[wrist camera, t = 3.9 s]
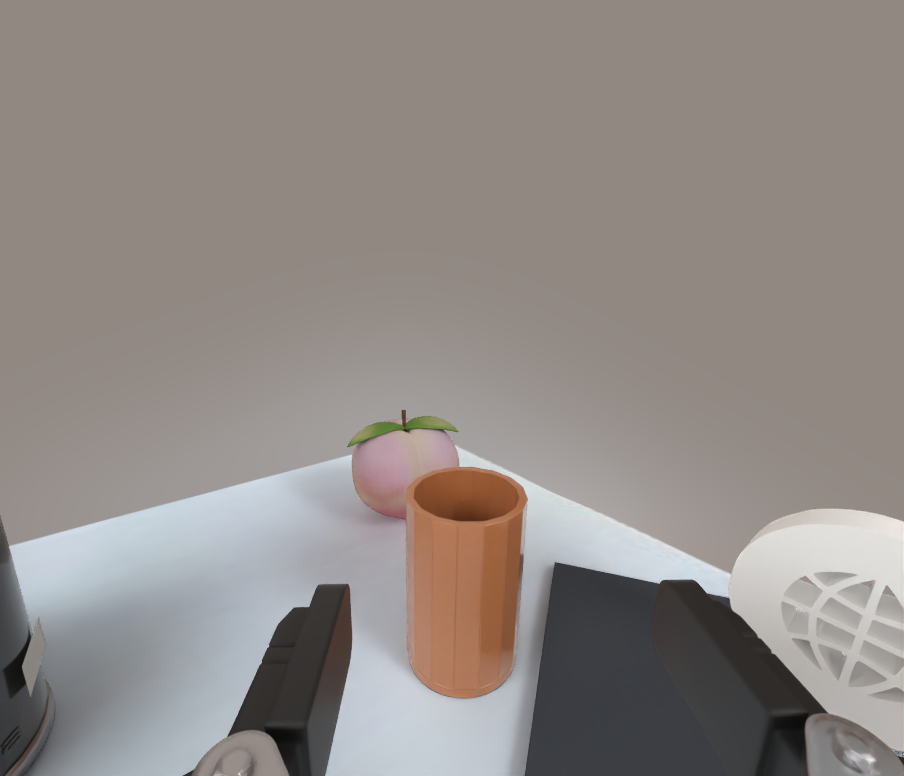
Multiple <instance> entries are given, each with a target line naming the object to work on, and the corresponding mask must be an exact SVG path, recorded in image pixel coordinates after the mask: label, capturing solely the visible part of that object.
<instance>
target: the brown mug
mask: <svg viewBox="0 0 904 776" xmlns="http://www.w3.org/2000/svg"><path fill="white" fill-rule="evenodd" d="M527 501H528V498H527V496H526V494H525V491H524V489H523V487H522V486H521V485H520V484H518V483H517V482H516V481H514V480H513V479H512V478H510V477H508V476H506V475H503V474H500V473H498V472H495V471H492V470H486V469H481V468H475V467H451V468H445V469H439V470H434V471H431V472H429V473H427V474H424V475H422V476H420V477H418V478H416V479H415V480H414V481H413V482H412V483H411V484H410V485H409V486H408V488H407V496H406V542H407V649H408V657H409V662H410V665H411V667H412V669H413V671H414V673H415V674H416V676H417V677H418V678H419V679H420V680H421V681H422V683H423V684H425V685H426V686H427V687H429V688H430V689H432V690H433V691H435V692H437V693H440V694H442V695H445V696H449V697H454V698H474V697H479V696H482V695H485V694H488V693H490V692H492V691H494V690H495V689H497V688H498V687H500V686H501V685H502V684H503V683H504V682H505V681H506V679H507V678H508V677H509V675H510V674H511V672H512V670H513V667H514V664H515V658H516V650H517V643H518V628H519V614H520V600H521V586H522V572H523V558H524V543H525V529H526V515H527Z"/></svg>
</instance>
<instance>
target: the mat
mask: <svg viewBox="0 0 904 776" xmlns="http://www.w3.org/2000/svg"><path fill="white" fill-rule="evenodd" d="M659 585H660V584H658V583H653V582H648V581H643V580H639V579H634V578H629V577H624V576H619V575H614V574H610V573H605V572H600V571H595V570H590V569H585V568H581V567H576V566H571V565H566V564H561V563H556V562H555V565H554V572H553V579H552V586H551V593H550V600H549V608H548V615H547V622H546V629H545V636H544V643H543V650H542V658H541V665H540V672H539V679H538V686H537V693H536V700H535V707H534V715H533V722H532V729H531V736H530V743H529V750H528V757H527V765H526V772H525V776H729V775H728V774H727V772H726V770H725V769H724V767H723V765H722V763H721V762H720V760H719V758H718V757H717V755H716V753H715V752H714V750H713V748H712V747H711V745H710V743H709V741H708V740H707V738H706V736H705V735H704V733H703V731H702V730H701V728H700V726H699V725H698V723H697V721H696V719H695V718H694V716H693V714H692V713H691V711H690V709H689V708H688V706H687V704H686V703H685V701H684V699H683V697H682V696H681V694H680V692H679V691H678V689H677V687H676V686H675V684H674V682H673V681H672V679H671V677H670V675H669V674H668V672H667V670H666V669H665V667H664V665H663V664H662V662H661V660H660V659H659V657H658V655H657V652H656V650H655V646H654V642H653V636H652V628H653V621H654V615H655V608H656V602H657V595H658V589H659ZM708 595H709V597H710V598H711V599H712V600H713V601H720V602H721V603H722V604H724V605H725V606H727V607H728V608H730V609H731V610H732V608H731V604H730V598H726V597H721V596H716V595H711V594H708Z"/></svg>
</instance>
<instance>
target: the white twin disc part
mask: <svg viewBox="0 0 904 776" xmlns="http://www.w3.org/2000/svg"><path fill="white" fill-rule="evenodd" d="M803 576H807V577H808V578H809V579H810V580H811V581H812V582H813V583H814V584H815V585H817V586H818V587H819V588H818V587H816V586H813V585H811V584H809V583H807V582H804V581H802V580H800V579H799V578H801V577H803ZM872 580H873V582H872V584H871V587H870V588H869V587H867V586H865V585H863V584H860V583H861V582H866V581H872ZM886 585H888V587H889V588H890V589H891V590H892V592H893V593H894V594H895V596H896V597H893V596H890V595H886V594H883V593H882V592H883V590H884V588H885V586H886ZM729 598H730V604H731V608H732V611H734V612H735V613H737V614H738V615H740V616H741V617H742V618H743V619H744V620H745V621H746V623H747V624H748V625H749V626H750V627H751V628H752V629H753V630H754V631H755V633H756V634H757V636H758V638H761V639H762V640H763V641H764V643H765V644H766V645H767V646H768V647H769V648H770V649H771V652H772V654H775V655H776V656H777V657H778V658H779V659H780V660H781V661H782V662H783V664H784V665H785V666H786V667H787V668H788V669H789V670H790V671H791V672H792V673H793V675H794V676H795V677H796V678H797V679H798V680H799V681H800V682H801V683H802V685H803V686H804V687H805V688H806V689H807V690H808V691H809V692H810V693H811V695H812V696H813V697H814V698H815V699H816V700H817V701H818V702H819V703H820V704H821V706H822V707H823V708H824V709H825V710H826V711H827V712H828V713H829V714H833V715H836V716H840V717H843V718H845V719H848V720H850V721H852V722H854V723H856V724H858V725H860V726H862V727H863V728H865V729H867V730H868V731H869V732H871V733H872V734H874V735H875V736H876V737H878V738H879V739H880V740H882V741H883V742H884V743H885V744H886V745H887V746H888V747H889V748H891V749H895V750H898V751H902V752H904V522H903V521H900V520H896V519H894V518H891V517H887V516H884V515H880V514H876V513H870V512H864V511H857V510H848V509H815V510H808V511H803V512H799V513H794V514H791V515H788V516H785V517H782V518H779V519H777V520H775V521H773V522H771V523H770V524H768V525H767V526H765V527H764V528H763V529H761V530H760V531H759V532H758V533H757V534H756V535H755V536H754V537H753V538H752V540H751V541H750V542H749V544H748V545H747V546H746V548H745V549H744V550H743V551H742V553H741V554H740V555H739V557H738V558H737V561H736V563H735V565H734V568H733V571H732V574H731V579H730V584H729ZM796 607H797V608H799V609H801V610H803V611H805V612H803V611H797V610H796ZM842 653H844V654H846V655H845V656H844V655H843V654H842Z"/></svg>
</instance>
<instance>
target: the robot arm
mask: <svg viewBox="0 0 904 776" xmlns="http://www.w3.org/2000/svg"><path fill="white" fill-rule="evenodd" d="M652 636H653V642H654V646H655V650H656V652H657V655H658V657H659V659H660V660H661V662H662V664H663V665H664V667H665V669H666V670H667V672H668V674H669V675H670V677H671V679H672V681H673V682H674V684H675V686H676V687H677V689H678V691H679V692H680V694H681V696H682V697H683V699H684V701H685V703H686V704H687V706H688V708H689V709H690V711H691V713H692V714H693V716H694V718H695V719H696V721H697V723H698V725H699V726H700V728H701V730H702V731H703V733H704V735H705V736H706V738H707V740H708V741H709V743H710V745H711V747H712V748H713V750H714V752H715V753H716V755H717V757H718V758H719V760H720V762H721V763H722V765H723V767H724V769H725V770H726V772H727V774H728V775H729V776H904V758H902V757H898V756H896V754H895V753H894V752H893V751H892V750H891V749H890V748H889V747H888V746H887V745H886V744H885V743H884V742H883V741H882V740H880V739H879V738H878V737H876V736H875V735H874V734H872V733H871V732H869V731H868V730H867V729H865V728H863V727H862V726H860V725H858V724H856V723H854V722H852V721H850V720H848V719H845V718H843V717H840V716H836V715H833V714H829V713H828V712H827V711H826V710H825V709H824V708H823V707H822V706H821V704H820V703H819V702H818V701H817V700H816V699H815V698H814V697H813V696H812V695H811V693H810V692H809V691H808V690H807V689H806V688H805V687H804V686H803V685H802V683H801V682H800V681H799V680H798V679H797V678H796V677H795V676H794V675H793V673H792V672H791V671H790V670H789V669H788V668H787V667H786V666H785V665H784V664H783V662H782V661H781V660H780V659H779V658H778V657H777V656H776V655H775V654H772V652H771V649H770V648H769V647H768V646H767V645H766V644H765V643H764V641H763V640H762V639H761V638H758V636H757V634H756V633H755V631H754V630H753V629H752V628H751V627H750V626H749V625H748V624H747V623H746V621H745V620H744V619H743V618H742V617H741V616H740V615H738V614H737V613H735V612H734V611H732V610H731V609H730V608H728V607H727V606H725V605H724V604H722V603H721V602H720V601H713V600H712V599H711V598H710V597H709V595H708V594H707V593H706V592H705V591H704V590H703V589H702V587H701V586H700V585H699V584H698V583H697V582H696V581H694V580H663V581H661V583H660V585H659V589H658V595H657V602H656V608H655V615H654V621H653V628H652ZM45 646H46V643H45V639H44V635H43V632H42V628H41V624H40V620H39V617H38V620H37V623H36V626H35V629H34V632H33V633H32V629H31V625H30V622H29V618H28V614H27V611H26V607H25V603H24V600H23V596H22V593H21V589H20V585H19V582H18V578H17V574H16V571H15V567H14V563H13V560H12V556H11V553H10V549H9V545H8V542H7V538H6V534H5V531H4V527H3V523H2V520H1V516H0V776H23V775H24V774H25V772H26V771H27V770H28V768H29V767H30V766H31V764H32V763H33V762H34V760H35V759H36V757H37V755H38V754H39V752H40V751H41V749H42V747H43V745H44V744H45V742H46V740H47V738H48V735H49V733H50V731H51V728H52V724H53V721H54V715H55V705H54V700H53V696H52V692H51V689H50V686H49V684H48V683H47V681H46V680H45V679H44V676H43V672H42V669H41V665H40V663H41V660H42V656H43V653H44V650H45ZM351 649H352V622H351V603H350V588H349V585H348V584H320V585H318V586H317V588H316V590H315V593H314V596H313V598H312V601H311V604H310V606H309V607H296V608H293V609H292V610H291V611H290V612H289V613H288V614H287V615H286V617H285V618H284V619H283V620H282V621H281V622H280V623H279V624H278V626H277V628H276V630H275V632H274V634H273V637H272V639H271V641H270V643H269V648H267V650H266V652H265V655H264V657H263V659H262V664H260V666H259V668H258V670H257V672H256V675H255V677H254V679H253V681H252V684H251V686H250V688H249V690H248V693H247V695H246V697H245V699H244V702H243V704H242V706H241V708H240V710H239V713H238V715H237V717H236V719H235V722H234V724H233V726H232V728H231V730H230V732H229V734H228V736H227V738H225V739H223V740H222V741H220V742H219V743H217V744H216V745H215V746H214V747H212V748H211V749H210V750H209V751H208V752H207V753H206V754H205V755H204V756H203V758H202V759H201V760H200V762H199V763H198V764H197V766H196V768H195V769H194V770H193V771H191V772H189V773H187V774H185V775H183V776H325V774H326V769H327V765H328V760H329V755H330V751H331V746H332V742H333V737H334V733H335V728H336V723H337V719H338V714H339V710H340V705H341V700H342V696H343V691H344V687H345V682H346V677H347V673H348V668H349V663H350V658H351Z"/></svg>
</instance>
